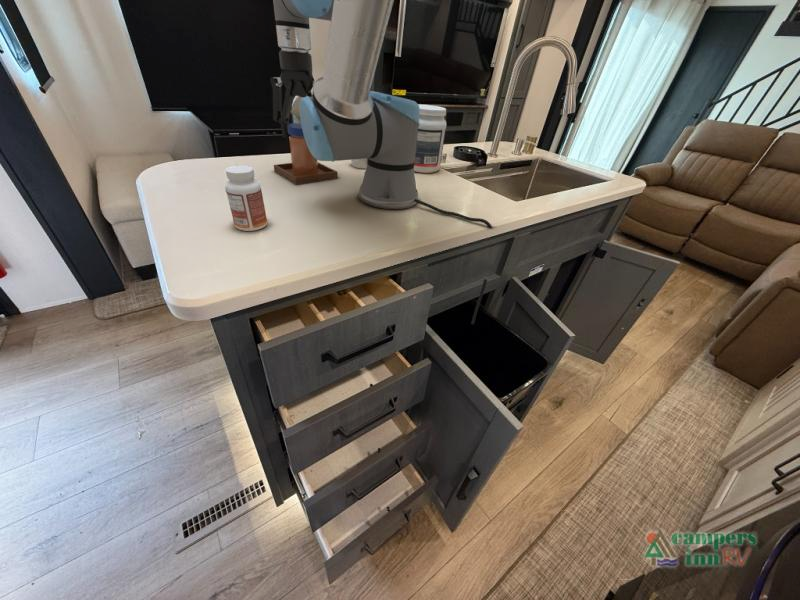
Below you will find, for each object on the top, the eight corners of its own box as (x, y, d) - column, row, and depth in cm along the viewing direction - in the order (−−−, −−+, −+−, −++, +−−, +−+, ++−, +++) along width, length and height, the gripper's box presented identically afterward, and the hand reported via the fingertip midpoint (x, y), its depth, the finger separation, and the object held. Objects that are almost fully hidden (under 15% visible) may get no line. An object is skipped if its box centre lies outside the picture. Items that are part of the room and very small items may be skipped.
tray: (337, 178, 94) (337, 171, 93) (296, 184, 87) (295, 177, 86) (314, 166, 102) (314, 160, 101) (274, 171, 94) (273, 164, 93)
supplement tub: (411, 161, 117) (417, 102, 106) (444, 168, 113) (454, 108, 102) (396, 168, 108) (400, 105, 96) (431, 176, 104) (440, 111, 93)
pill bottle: (265, 217, 69) (256, 163, 62) (269, 230, 64) (259, 173, 58) (234, 220, 67) (220, 164, 60) (235, 233, 62) (221, 174, 55)
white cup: (376, 165, 109) (378, 132, 103) (369, 170, 103) (369, 136, 97) (355, 161, 111) (355, 129, 105) (346, 166, 104) (345, 132, 98)
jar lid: (290, 136, 84) (289, 128, 82) (284, 130, 89) (284, 123, 88) (319, 136, 87) (319, 128, 85) (312, 130, 92) (311, 123, 91)
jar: (323, 175, 94) (320, 131, 87) (300, 178, 90) (296, 133, 83) (310, 168, 98) (306, 126, 91) (288, 171, 94) (282, 127, 87)
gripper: (246, 45, 75) (263, 150, 89) (330, 55, 73) (333, 160, 87) (263, 47, 81) (276, 145, 95) (340, 55, 79) (342, 154, 93)
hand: (304, 152), depth 91 cm, fingers closed on jar lid, 7 cm apart
